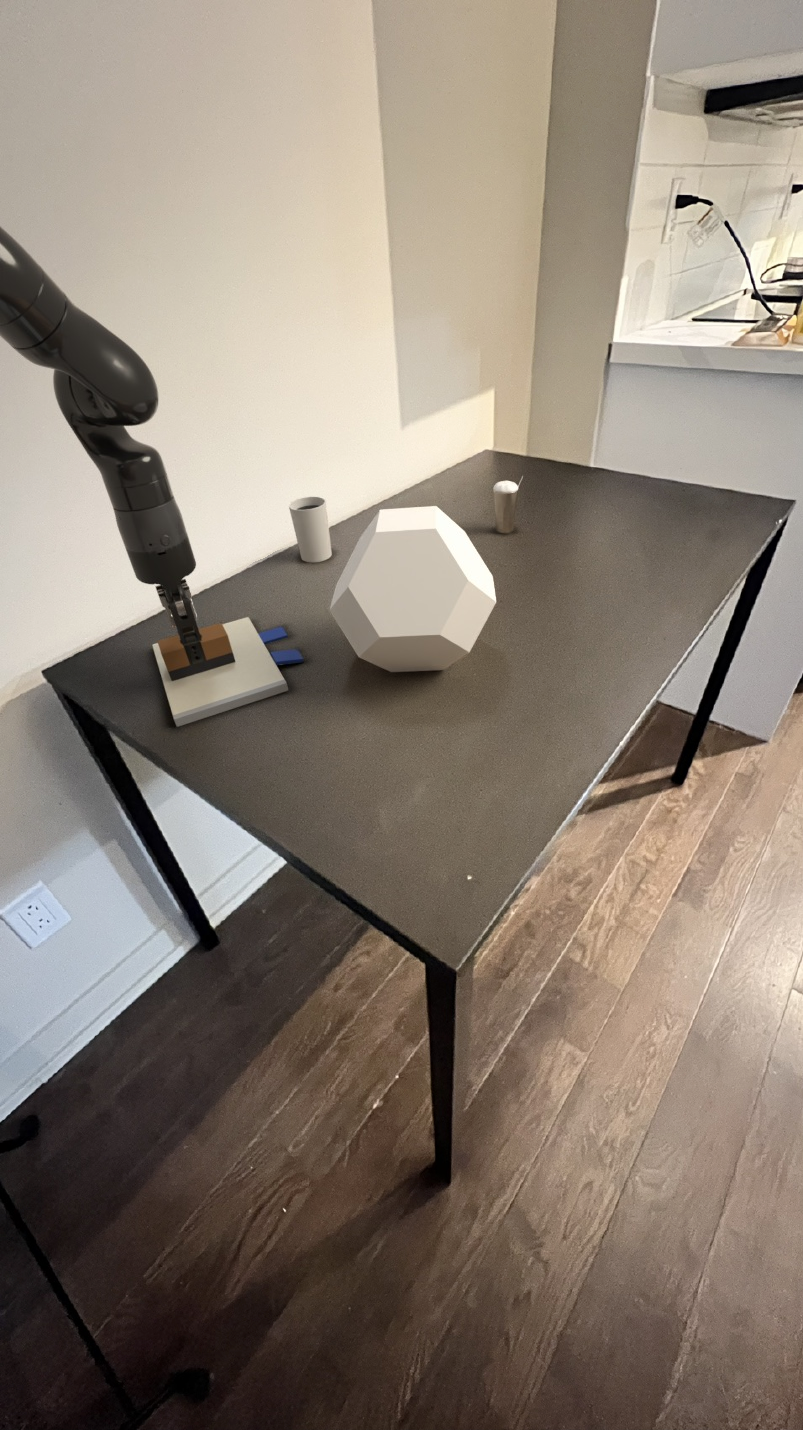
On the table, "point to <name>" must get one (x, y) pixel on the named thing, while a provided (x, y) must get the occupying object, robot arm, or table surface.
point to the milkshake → (505, 505)
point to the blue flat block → (273, 635)
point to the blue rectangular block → (286, 657)
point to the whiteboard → (225, 678)
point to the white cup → (311, 528)
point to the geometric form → (413, 591)
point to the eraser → (213, 647)
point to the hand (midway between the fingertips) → (192, 649)
